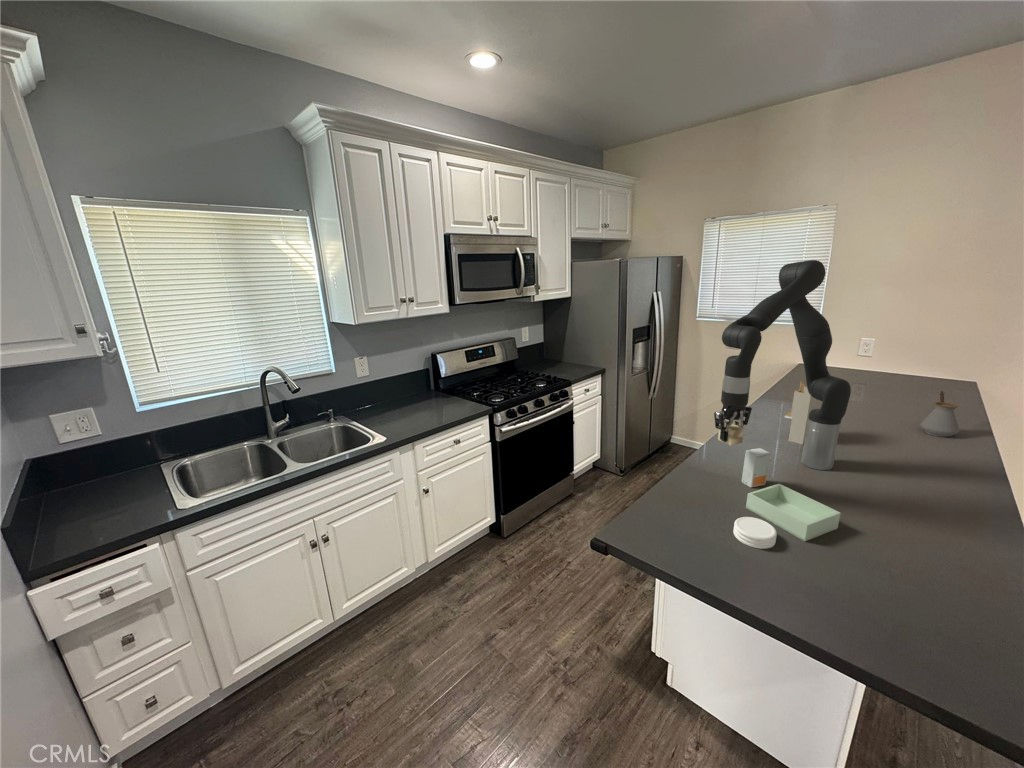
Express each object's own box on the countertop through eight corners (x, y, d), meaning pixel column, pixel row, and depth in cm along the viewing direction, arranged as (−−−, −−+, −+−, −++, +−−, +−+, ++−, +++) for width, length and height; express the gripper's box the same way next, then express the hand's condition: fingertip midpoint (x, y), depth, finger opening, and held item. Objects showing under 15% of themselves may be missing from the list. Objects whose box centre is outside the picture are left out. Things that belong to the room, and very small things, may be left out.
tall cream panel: (811, 437, 172) (821, 379, 165) (802, 445, 165) (812, 385, 158) (789, 432, 178) (798, 376, 171) (780, 439, 171) (789, 381, 164)
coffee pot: (960, 441, 162) (969, 405, 158) (920, 434, 169) (928, 400, 165) (952, 425, 178) (961, 392, 174) (915, 420, 185) (923, 388, 181)
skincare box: (751, 488, 134) (755, 455, 131) (741, 482, 138) (745, 450, 135) (765, 485, 136) (770, 452, 133) (755, 479, 140) (759, 447, 137)
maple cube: (729, 437, 135) (730, 423, 133) (742, 442, 130) (743, 428, 129) (717, 439, 133) (719, 425, 132) (730, 445, 129) (732, 430, 127)
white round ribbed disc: (737, 522, 117) (738, 511, 116) (778, 535, 111) (779, 524, 110) (729, 540, 110) (730, 529, 109) (772, 555, 104) (773, 543, 103)
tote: (776, 497, 128) (779, 483, 127) (837, 528, 112) (840, 512, 111) (745, 507, 124) (747, 493, 122) (804, 541, 108) (807, 525, 106)
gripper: (741, 383, 133) (736, 431, 137) (708, 389, 128) (704, 439, 132) (762, 388, 126) (756, 439, 131) (728, 395, 121) (723, 447, 126)
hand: (730, 439), depth 131 cm, fingers closed on maple cube, 5 cm apart
